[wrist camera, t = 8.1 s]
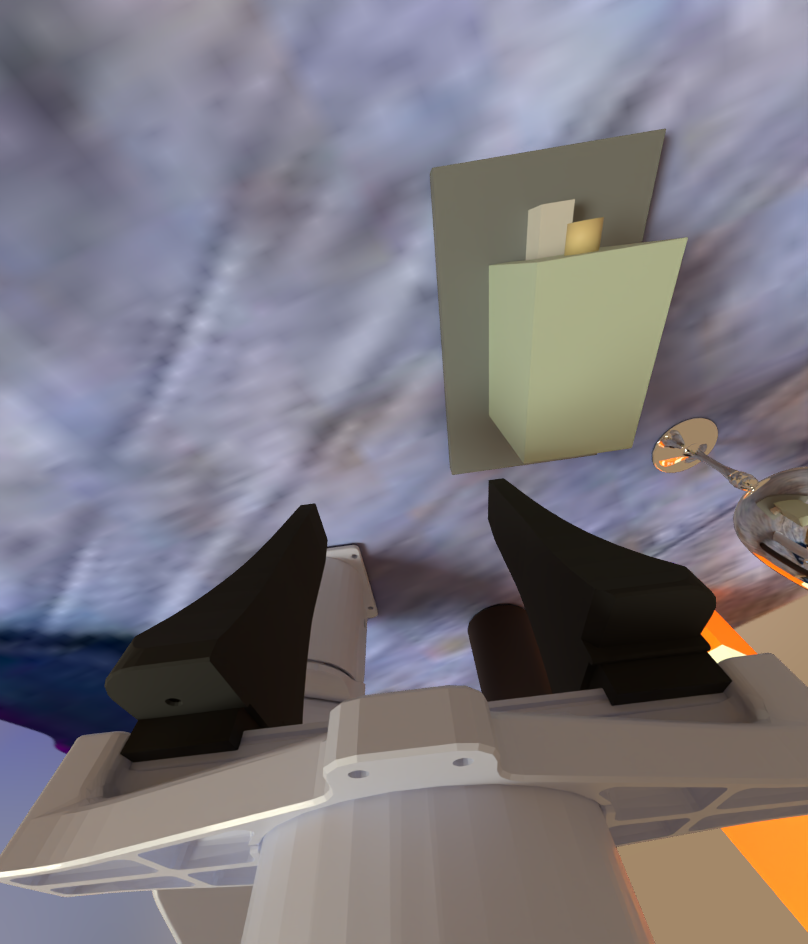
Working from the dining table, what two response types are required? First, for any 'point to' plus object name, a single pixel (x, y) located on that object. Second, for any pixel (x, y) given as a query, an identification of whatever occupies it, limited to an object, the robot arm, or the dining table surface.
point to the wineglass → (749, 499)
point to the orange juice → (774, 841)
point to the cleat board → (519, 254)
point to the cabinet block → (577, 342)
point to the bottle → (507, 654)
